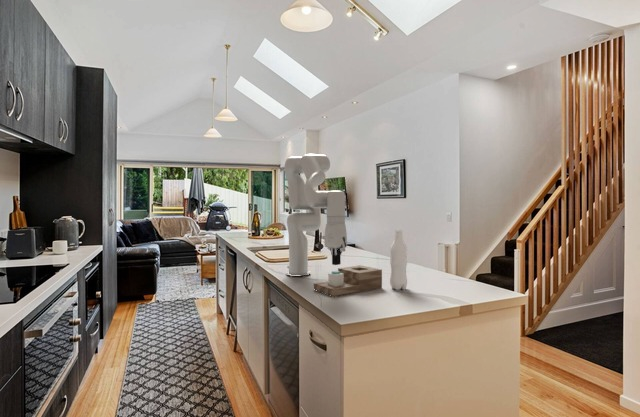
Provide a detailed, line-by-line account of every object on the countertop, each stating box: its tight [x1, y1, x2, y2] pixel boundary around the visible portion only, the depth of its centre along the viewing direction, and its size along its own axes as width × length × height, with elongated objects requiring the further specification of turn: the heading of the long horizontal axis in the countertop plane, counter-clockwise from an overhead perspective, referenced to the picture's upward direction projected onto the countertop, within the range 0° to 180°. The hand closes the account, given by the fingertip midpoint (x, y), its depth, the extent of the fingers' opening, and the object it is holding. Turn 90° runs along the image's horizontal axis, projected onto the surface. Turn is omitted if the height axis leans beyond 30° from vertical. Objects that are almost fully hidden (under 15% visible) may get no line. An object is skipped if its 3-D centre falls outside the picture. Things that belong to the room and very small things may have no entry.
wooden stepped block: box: [313, 264, 383, 298], centre depth 165 cm, size 14×26×8 cm, turn 125°
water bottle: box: [389, 229, 408, 291], centre depth 165 cm, size 7×7×25 cm
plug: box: [327, 270, 344, 286], centre depth 161 cm, size 4×4×8 cm
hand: (336, 264), depth 160 cm, fingers closed
